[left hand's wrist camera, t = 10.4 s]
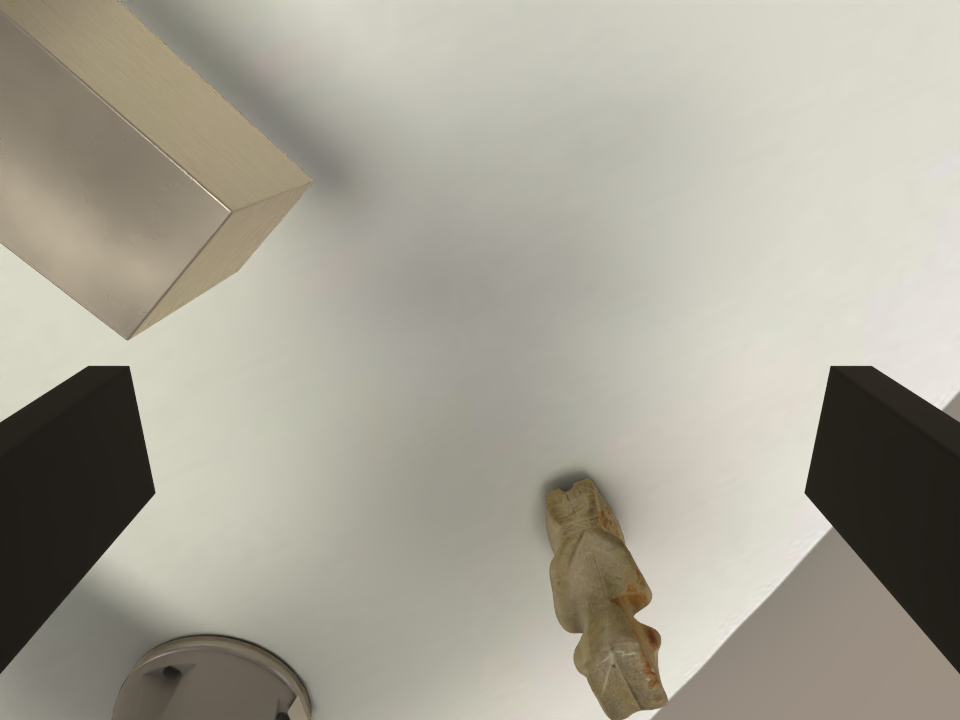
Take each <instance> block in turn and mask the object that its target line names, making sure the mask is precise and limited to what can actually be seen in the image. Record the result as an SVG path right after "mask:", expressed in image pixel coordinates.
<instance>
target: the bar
mask: <svg viewBox="0 0 960 720" xmlns="http://www.w3.org/2000/svg"><path fill="white" fill-rule="evenodd" d="M312 183H313V180H312V179H311V178H310V177H309V176H308V175H307V174H306V173H305V172H304V171H303V170H301V169H300V168H299V167H298V166H297V165H296V164H295V163H294V162H293V161H292V160H291V159H290V158H288V157H287V156H286V155H285V154H284V153H283V152H282V151H281V150H280V149H279V148H278V147H276V146H275V145H274V144H273V143H272V142H271V141H270V140H269V139H268V138H267V137H266V136H264V135H263V134H262V133H261V132H260V131H259V130H258V129H257V128H256V127H255V126H254V125H252V124H251V123H250V122H249V121H248V120H247V119H246V118H245V117H244V116H243V115H242V114H240V113H239V112H238V111H237V110H236V109H235V108H234V107H233V106H232V105H231V104H230V103H228V102H227V101H226V100H225V99H224V98H223V97H222V96H221V95H220V94H219V93H218V92H216V91H215V90H214V89H213V88H212V87H211V86H210V85H209V84H208V83H207V82H206V81H205V80H203V79H202V78H201V77H200V76H199V75H198V74H197V73H196V72H195V71H194V70H193V69H191V68H190V67H189V66H188V65H187V64H186V63H185V62H184V61H183V60H182V59H181V58H179V57H178V56H177V55H176V54H175V53H174V52H173V51H172V50H171V49H170V48H169V47H167V46H166V45H165V44H164V43H163V42H162V41H161V40H160V39H159V38H158V37H157V36H155V35H154V34H153V33H152V32H151V31H150V30H149V29H148V28H147V27H146V26H145V25H143V24H142V23H141V22H140V21H139V20H138V19H137V18H136V17H135V16H134V15H133V14H132V13H130V12H129V11H128V10H127V9H126V8H125V7H124V6H123V5H122V4H121V3H120V2H118V1H117V0H0V243H1V244H3V245H4V246H5V247H7V248H8V249H9V250H10V251H12V252H13V253H14V254H16V255H17V256H18V257H20V258H21V259H22V260H23V261H25V262H26V263H27V264H29V265H30V266H31V267H33V268H34V269H35V270H36V271H38V272H39V273H40V274H42V275H43V276H44V277H45V278H47V279H48V280H49V281H51V282H52V283H53V284H55V285H56V286H57V287H58V288H60V289H61V290H62V291H64V292H65V293H66V294H68V295H69V296H70V297H71V298H73V299H74V300H75V301H77V302H78V303H79V304H80V305H82V306H83V307H84V308H86V309H87V310H88V311H90V312H91V313H92V314H93V315H95V316H96V317H97V318H99V319H100V320H101V321H103V322H104V323H105V324H106V325H108V326H109V327H110V328H112V329H113V330H114V331H115V332H117V333H118V334H119V335H121V336H122V337H123V338H125V339H126V340H130V339H131V338H133V337H134V336H136V335H138V334H139V333H141V332H142V331H144V330H146V329H147V328H149V327H150V326H152V325H153V324H155V323H157V322H158V321H160V320H161V319H163V318H165V317H166V316H168V315H169V314H171V313H172V312H174V311H176V310H177V309H179V308H180V307H182V306H184V305H185V304H187V303H188V302H190V301H191V300H193V299H195V298H196V297H198V296H199V295H201V294H203V293H204V292H206V291H207V290H209V289H210V288H212V287H214V286H215V285H217V284H218V283H220V282H222V281H223V280H225V279H226V278H228V277H229V276H231V275H233V274H234V273H236V272H237V271H239V269H240V268H241V267H242V266H243V265H244V264H245V262H246V261H247V260H248V259H249V258H250V256H251V255H252V254H253V253H254V252H255V251H256V249H257V248H258V247H259V246H260V245H261V243H262V242H263V241H264V240H265V239H266V238H267V236H268V235H269V234H270V233H271V232H272V230H273V229H274V228H275V227H276V226H277V225H278V223H279V222H280V221H281V220H282V219H283V217H284V216H285V215H286V214H287V213H288V212H289V210H290V209H291V208H292V207H293V206H294V204H295V203H296V202H297V201H298V200H299V199H300V197H301V196H302V195H303V194H304V193H305V191H306V190H307V189H308V188H309V187H310V186H311V184H312Z"/></svg>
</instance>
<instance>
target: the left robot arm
mask: <svg viewBox="0 0 960 720" xmlns="http://www.w3.org/2000/svg"><path fill="white" fill-rule="evenodd" d="M154 494H155V488H154V483H153V478H152V474H151V469H150V464H149V459H148V454H147V449H146V445H145V440H144V435H143V430H142V425H141V420H140V415H139V411H138V406H137V401H136V396H135V391H134V386H133V382H132V377H131V372H130V367H129V366H88V367H86V368H84V369H83V370H81V371H80V372H78V373H77V374H75V375H74V376H72V377H70V378H69V379H67V380H66V381H64V382H63V383H61V384H60V385H58V386H56V387H55V388H53V389H52V390H50V391H49V392H47V393H45V394H44V395H42V396H41V397H39V398H38V399H36V400H35V401H33V402H31V403H30V404H28V405H27V406H25V407H24V408H22V409H21V410H19V411H17V412H16V413H14V414H13V415H11V416H10V417H8V418H6V419H5V420H3V421H2V422H0V674H1V672H2V671H3V670H4V669H5V668H6V667H7V665H8V664H9V663H10V662H11V661H12V660H13V658H14V657H15V656H16V655H17V654H18V653H19V651H20V650H21V649H22V648H23V647H24V646H25V644H26V643H27V642H28V641H29V640H30V639H31V637H32V636H33V635H34V634H35V633H36V632H37V630H38V629H39V628H40V627H41V626H42V625H43V624H44V622H45V621H46V620H47V619H48V618H49V617H50V615H51V614H52V613H53V612H54V611H55V610H56V608H57V607H58V606H59V605H60V604H61V603H62V601H63V600H64V599H65V598H66V597H67V596H68V594H69V593H70V592H71V591H72V590H73V589H74V587H75V586H76V585H77V584H78V583H79V582H80V580H81V579H82V578H83V577H84V576H85V575H86V573H87V572H88V571H89V570H90V569H91V568H92V566H93V565H94V564H95V563H96V562H97V561H98V559H99V558H100V557H101V556H102V555H103V554H104V552H105V551H106V550H107V549H108V548H109V547H110V545H111V544H112V543H113V542H114V541H115V540H116V538H117V537H118V536H119V535H120V534H121V533H122V531H123V530H124V529H125V528H126V527H127V526H128V525H129V523H130V522H131V521H132V520H133V519H134V518H135V516H136V515H137V514H138V513H139V512H140V511H141V509H142V508H143V507H144V506H145V505H146V504H147V502H148V501H149V500H150V499H151V498H152V497H153V495H154ZM805 494H806V495H807V497H808V498H809V499H810V500H811V501H812V502H813V504H814V505H815V506H816V507H817V508H818V509H819V511H820V512H821V513H822V514H823V515H824V516H825V518H826V519H827V520H828V521H829V522H830V523H831V525H832V526H833V527H834V528H835V529H836V530H837V531H838V533H839V534H840V535H841V536H842V537H843V538H844V540H845V541H846V542H847V543H848V544H849V545H850V547H851V548H852V549H853V550H854V551H855V552H856V554H857V555H858V556H859V557H860V558H861V559H862V561H863V562H864V563H865V564H866V565H867V566H868V568H869V569H870V570H871V571H872V572H873V573H874V575H875V576H876V577H877V578H878V579H879V580H880V582H881V583H882V584H883V585H884V586H885V587H886V589H887V590H888V591H889V592H890V593H891V594H892V596H893V597H894V598H895V599H896V600H897V601H898V603H899V604H900V605H901V606H902V607H903V608H904V610H905V611H906V612H907V613H908V614H909V615H910V617H911V618H912V619H913V620H914V621H915V622H916V623H917V625H918V626H919V627H920V628H921V629H922V630H923V632H924V633H925V634H926V635H927V636H928V637H929V639H930V640H931V641H932V642H933V643H934V644H935V646H936V647H937V648H938V649H939V650H940V651H941V653H942V654H943V655H944V656H945V657H946V658H947V660H948V661H949V662H950V663H951V664H952V665H953V667H954V668H955V669H956V670H957V671H958V672H959V674H960V422H958V421H957V420H955V419H954V418H952V417H950V416H949V415H947V414H946V413H944V412H943V411H941V410H939V409H938V408H936V407H935V406H933V405H932V404H930V403H929V402H927V401H925V400H924V399H922V398H921V397H919V396H918V395H916V394H915V393H913V392H911V391H910V390H908V389H907V388H905V387H904V386H902V385H900V384H899V383H897V382H896V381H894V380H893V379H891V378H890V377H888V376H886V375H885V374H883V373H882V372H880V371H879V370H877V369H876V368H874V367H872V366H831V367H830V372H829V377H828V382H827V386H826V391H825V396H824V401H823V406H822V411H821V415H820V420H819V425H818V430H817V435H816V440H815V445H814V449H813V454H812V459H811V464H810V469H809V474H808V478H807V483H806V488H805ZM111 720H311V708H310V702H309V699H308V696H307V693H306V691H305V689H304V687H303V685H302V683H301V682H300V680H299V679H298V678H297V676H296V675H295V674H294V673H293V672H292V671H291V670H290V669H289V668H288V667H287V666H286V665H285V664H284V663H283V662H281V661H280V660H279V659H277V658H276V657H274V656H273V655H271V654H270V653H268V652H266V651H264V650H262V649H260V648H258V647H256V646H254V645H251V644H248V643H246V642H242V641H239V640H235V639H230V638H225V637H217V636H194V637H186V638H180V639H176V640H173V641H170V642H167V643H164V644H162V645H160V646H158V647H156V648H154V649H153V650H151V651H149V652H148V653H147V654H146V655H144V656H143V657H142V658H141V659H140V660H139V661H138V662H137V664H136V665H135V666H134V668H133V669H132V671H131V672H130V674H129V676H128V677H127V679H126V680H125V682H124V684H123V685H122V687H121V689H120V692H119V695H118V697H117V700H116V702H115V706H114V710H113V714H112V719H111Z"/></svg>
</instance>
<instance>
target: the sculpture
mask: <svg viewBox="0 0 960 720" xmlns="http://www.w3.org/2000/svg"><path fill="white" fill-rule="evenodd" d="M545 498H546V504H547V506H546V527H547V533H548V538H549V542H550V545H551V548H552V550H553V552H554V554H555V556H554V558H553V560H552V562H551V564H550V580H551V586H552V591H553V599H554V608H555V613H556V616H557V619H558V621H559V623H560V624H561V626H562V627H563V628H564V629H565V630H566V631H568V632H570V633H583V634H582V637H581V640H580V641H579V643H578V645H577V647H576V649H575V651H574V664H575V666H576V669H577V670H578V671H579V673H581V674H582V675H584V676H585V677H587V680H588V683H589V685H590V687H591V689H592V691H593V693H594V694H595V696H596V698H597V699H598V701H599V703H600V705H601V707H602V709H603V711H604V712H605V714H606V715H607V716H608V717H609V718H610V719H611V720H623V719H626V718H628V717H629V716H630V715H632V714H633V713H635V712H637V711H641V710H653V709H658V708H661V707H664V706H665V705H667V704H668V698H667V695H666V693H665V691H664V689H663V686H662V684H661V680H660V675H659V669H658V650H659V648H660V645H661V636H660V634H659V633H658V632H657V631H656V630H655V629H653V628H652V627H649V626H647V625H644V624H642V623H640V622H638V621H637V620H636V619H635V618H634V617H633V616H634V615H635V614H636V613H637V612H639V611H640V610H641V609H643V608H644V607H646V606H647V605H648V604H649V603H650V602H651V599H652V593H651V590H650V588H649V586H648V584H647V583H646V581H645V579H644V577H643V575H642V573H641V572H640V570H639V568H638V567H637V565H636V563H635V561H634V559H633V557H632V555H631V553H630V552H629V550H628V549H627V547H626V546H625V541H624V537H623V533H622V530H621V528H620V525H619V523H618V521H617V520H616V518H615V516H614V515H613V513H612V512H611V510H610V508H609V507H608V505H607V504H606V502H605V501H604V499H603V498H602V497H601V495H600V493H599V491H598V490H597V488H596V487H595V485H594V484H593V482H592V481H591V480H590V479H584V480H580V481H577V482H575V483H574V484H573V486H572V488H571V489H570V490H568V491H563V490H562V489H561V488H557V489H554V490H552V491H550V492H548V493H547V494H546V495H545Z"/></svg>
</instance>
